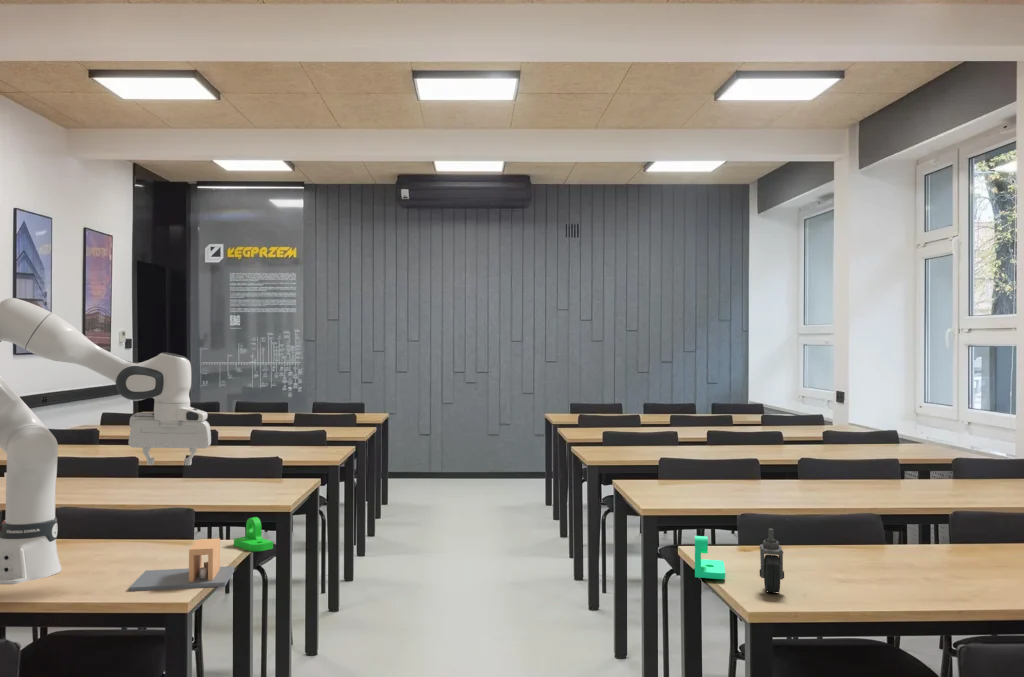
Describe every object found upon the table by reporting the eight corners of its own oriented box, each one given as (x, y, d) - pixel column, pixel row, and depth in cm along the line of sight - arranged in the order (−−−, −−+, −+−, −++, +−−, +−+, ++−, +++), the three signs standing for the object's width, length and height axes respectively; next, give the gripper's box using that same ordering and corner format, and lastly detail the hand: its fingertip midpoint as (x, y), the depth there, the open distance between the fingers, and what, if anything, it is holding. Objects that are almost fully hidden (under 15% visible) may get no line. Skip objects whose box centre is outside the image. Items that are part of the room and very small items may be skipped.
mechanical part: (233, 545, 227) (234, 519, 227) (251, 541, 232) (252, 515, 232) (254, 552, 219) (254, 525, 220) (273, 548, 224) (273, 521, 224)
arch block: (188, 581, 187) (189, 549, 187) (197, 570, 196) (197, 539, 196) (212, 580, 188) (212, 548, 188) (219, 568, 197) (220, 538, 198)
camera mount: (725, 583, 192) (725, 543, 192) (694, 581, 194) (695, 541, 194) (723, 570, 204) (723, 532, 204) (694, 568, 206) (694, 530, 206)
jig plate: (129, 593, 182) (129, 577, 182) (145, 576, 196) (145, 561, 196) (224, 588, 186) (225, 572, 186) (234, 571, 200) (234, 556, 200)
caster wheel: (782, 587, 189) (782, 527, 189) (785, 599, 180) (785, 536, 180) (758, 585, 191) (758, 526, 191) (760, 597, 181) (761, 535, 182)
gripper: (126, 413, 196) (123, 466, 196) (209, 415, 200) (206, 466, 200) (133, 411, 203) (131, 462, 202) (213, 413, 207) (211, 463, 206)
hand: (169, 464), depth 201 cm, fingers open, 8 cm apart
